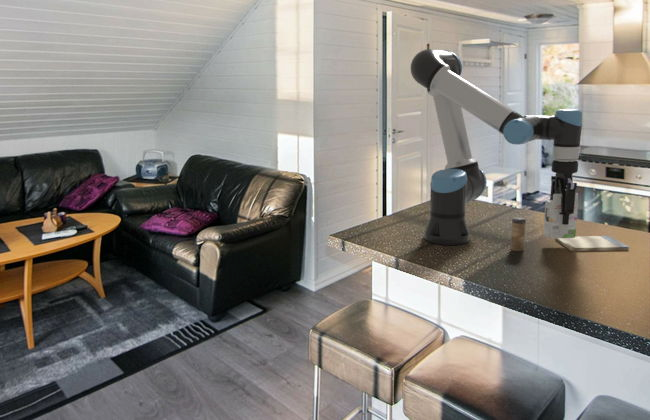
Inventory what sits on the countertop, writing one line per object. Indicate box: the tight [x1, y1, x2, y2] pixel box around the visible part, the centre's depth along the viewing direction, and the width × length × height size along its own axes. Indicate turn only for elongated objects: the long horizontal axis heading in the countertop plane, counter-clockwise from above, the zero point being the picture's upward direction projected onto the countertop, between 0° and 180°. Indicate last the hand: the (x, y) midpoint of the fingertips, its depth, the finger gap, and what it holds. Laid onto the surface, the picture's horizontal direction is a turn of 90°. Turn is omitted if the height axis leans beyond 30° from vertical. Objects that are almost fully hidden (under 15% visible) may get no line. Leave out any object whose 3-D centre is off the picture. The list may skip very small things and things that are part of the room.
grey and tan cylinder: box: [509, 217, 527, 252], centre depth 165 cm, size 4×4×10 cm
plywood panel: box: [554, 235, 630, 252], centre depth 168 cm, size 18×12×1 cm, turn 89°
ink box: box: [543, 192, 579, 240], centre depth 166 cm, size 9×5×15 cm, turn 91°
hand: (559, 231), depth 167 cm, fingers closed on ink box, 5 cm apart
